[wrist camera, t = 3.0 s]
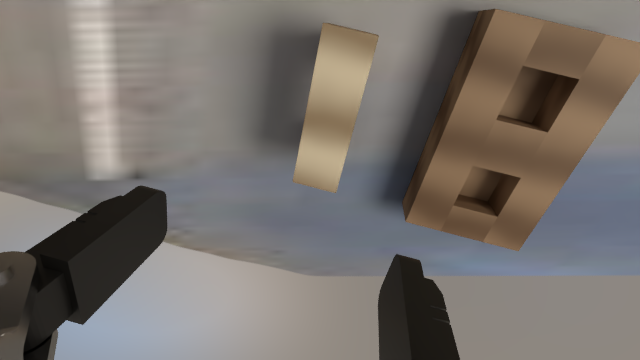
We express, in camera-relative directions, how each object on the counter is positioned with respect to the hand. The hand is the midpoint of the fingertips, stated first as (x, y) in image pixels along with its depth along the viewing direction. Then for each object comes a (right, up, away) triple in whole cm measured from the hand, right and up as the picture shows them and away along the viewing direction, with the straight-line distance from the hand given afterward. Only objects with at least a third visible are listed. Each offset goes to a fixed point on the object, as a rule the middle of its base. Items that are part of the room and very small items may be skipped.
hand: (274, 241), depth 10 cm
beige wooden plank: (+4, +11, +21) cm, 24 cm away
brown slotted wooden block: (+19, +7, +20) cm, 29 cm away
